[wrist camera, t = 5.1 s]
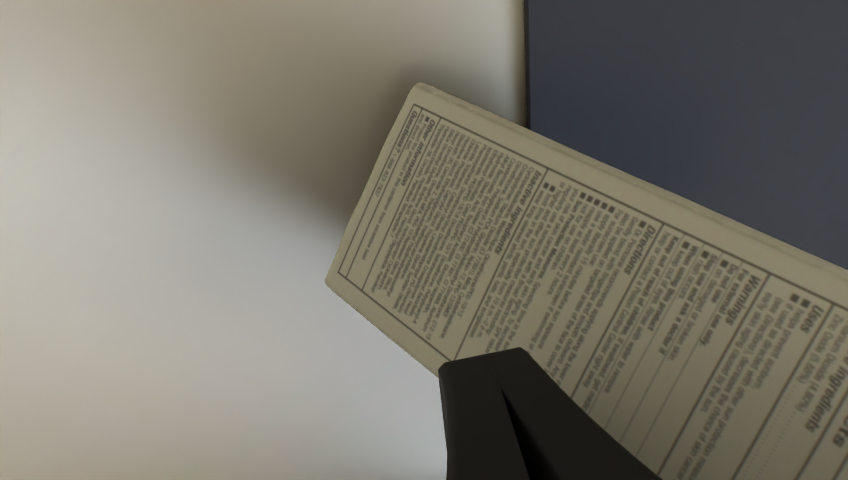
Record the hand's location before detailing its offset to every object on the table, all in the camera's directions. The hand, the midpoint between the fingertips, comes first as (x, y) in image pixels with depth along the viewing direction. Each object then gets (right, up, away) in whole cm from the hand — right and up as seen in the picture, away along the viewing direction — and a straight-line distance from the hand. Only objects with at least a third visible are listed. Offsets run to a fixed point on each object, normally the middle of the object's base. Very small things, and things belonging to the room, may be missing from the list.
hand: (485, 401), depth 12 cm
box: (-1, +4, +6) cm, 7 cm away
